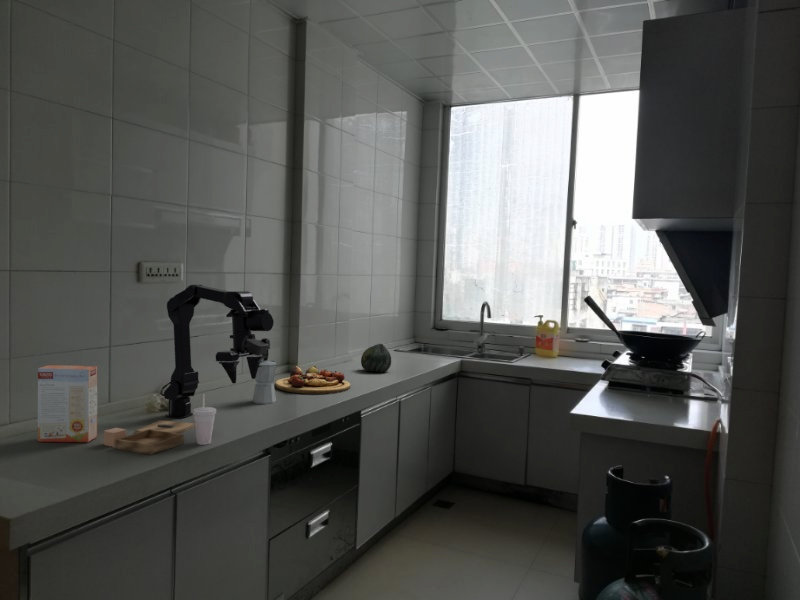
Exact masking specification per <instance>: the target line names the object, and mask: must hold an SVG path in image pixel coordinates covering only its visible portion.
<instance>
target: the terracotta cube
mask: <svg viewBox="0 0 800 600" xmlns="http://www.w3.org/2000/svg"><path fill="white" fill-rule="evenodd" d="M125 436H127V429H124V428H119V427H113V428H110V429H106V430H103V445H104V446H108V447H111V446H112V448H116V447H115V446H116V439H119V438H122V437H125Z"/></svg>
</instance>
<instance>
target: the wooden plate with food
mask: <svg viewBox="0 0 800 600" xmlns="http://www.w3.org/2000/svg"><path fill="white" fill-rule="evenodd" d="M289 376H290V377H284V378H280V379H277V380H276V381H275V383H274V387H275V388H277V389H279V390H281V391H284V392H288V393H295V394H304V395H328V394H327V393H332V394H338V393H337V392H339V393H343V392H342V391H344V392H346V390H347V391H349V390H350V388H351V383H350V382H349V381H347V380H345V375H344V373H342V372H337V371H336V370H334V372H333V371H330V370H328V369H325V368H324V369H322V370H320V371H319V369H318V368H316V367H315V366H311V367H309V368H308V369H307V370H305V373H303V370H302V369H301V368H300V367H299V366H298V365H297V366H294V367H293V368H291V370H290V373H289ZM348 389H349V390H348Z"/></svg>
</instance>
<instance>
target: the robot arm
mask: <svg viewBox="0 0 800 600" xmlns="http://www.w3.org/2000/svg"><path fill="white" fill-rule="evenodd" d="M201 299H203V300H206V301H212V302H215V303H216V302H217V303H221V304H223V306H225V307H226V308H228V309H230V311H229V312H228V313H227V314H226V317H227V318H231V326H232V334H229V339H232V347H230V350H223V351H222V350H221V351H217V352H216V354H215V362H218V364H220V365H221V366H222V368H223V369H224V371H225V373H226V374H227V376H228V378H229V379H230V381H231V383H232V384H237V366H238V365H239V363H240V360H239V358H242V357H246V361H247V362H246V363H247V366H248V369H249V374H250V377H251V379H252V380H255V378H256V374H257V371H258V367H259V364H260V362H261V361H263V359H264V358H265V357H266V356H263V355H268V356H269V350H270V349H271V340H270V339H269V338H265V337H264V338H261V339H256V335H255V333H252V332H270V331H271V330H272V329H273V326H274V318H273V316H272V315H271V313H270V311H269V308H263V309H261V308H260V306H259V305H258V304H257V302H256V300H255V299H254V297H253V294H252V292H250V291H247V290H240V291H238V290H236V291H235V290H234V291H228V290H224V289H220V288H214V287H209V286H205V285H203V284H190V285H188V286H187V287H186V288H185V289H184V290H182V291H180V292H178V293H177V294H175V295H174V296H173V297H170V298H169V300H168V301H167V302H166V309H167V315H168V316H167V317H169V319H170V321H171V322H172V324H173V340H174V345H173V346H174V363H175V368H174V370H173V371H172V374H171V376H170V385H169V386H168V387H167V388H166V389H165V390H164V391H163V396H164V397H163V398H164V399H165V400H168V413H167V414H164V416H165V417H166V418H167V417H168V418H175V419H182V418H187V417H190V416H192V415H193V416H194V414H193V412H192V411H191V410H192V407H191V406H192V402H191V397H194V396H195V393H196V390H197V389H198V387H199V384H200V381H199V371H198V370H197V371H195V370H194V368H193V366H192V353H191V351H192V350H191V333H190V332H191V330H190V329H191V328H190V326H191V325H190V324H191V321H192V319H193V317H194V314H195V308H196V307H197V306H198V305H199V304H200V302H201Z"/></svg>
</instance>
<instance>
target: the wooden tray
mask: <svg viewBox="0 0 800 600" xmlns="http://www.w3.org/2000/svg"><path fill="white" fill-rule="evenodd" d="M184 439H185V434H183V433H180V434H178V433H172V432H166V431H160V430H153V429H147V430H144V431H141V432H138V433H131V434H129V435H126V436H125V437H122V438H119V439H116V447H115V449H116V450H123V451H127V452H133V453H136V454H137V453H139V454H144V455H147V456H148V455H149V456H152V455H156V454H158V453H161V452H164V451H166V450H169V449H171V448H174V447H178V446H180V445H182V444H184V443H185V440H184Z"/></svg>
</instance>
